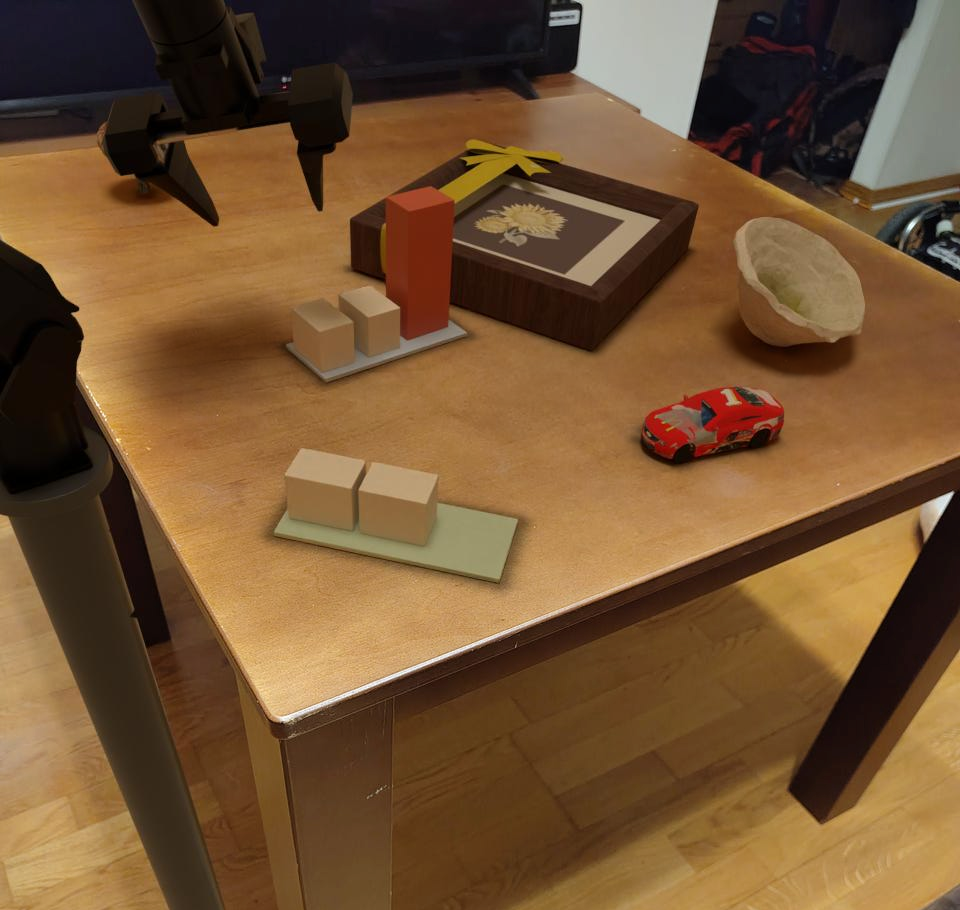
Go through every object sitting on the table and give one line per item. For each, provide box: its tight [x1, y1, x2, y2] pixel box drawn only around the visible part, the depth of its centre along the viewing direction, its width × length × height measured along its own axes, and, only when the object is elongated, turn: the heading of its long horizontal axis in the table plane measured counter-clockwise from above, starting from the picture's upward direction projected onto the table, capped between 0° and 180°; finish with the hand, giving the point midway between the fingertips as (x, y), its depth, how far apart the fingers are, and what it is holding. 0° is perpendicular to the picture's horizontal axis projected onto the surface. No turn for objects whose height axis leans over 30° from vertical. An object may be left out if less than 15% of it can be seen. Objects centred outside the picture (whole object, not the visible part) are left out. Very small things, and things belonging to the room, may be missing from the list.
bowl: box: [733, 216, 866, 348], centre depth 87 cm, size 15×14×10 cm
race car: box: [640, 386, 785, 464], centre depth 76 cm, size 13×5×4 cm, turn 111°
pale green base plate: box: [273, 447, 519, 584], centre depth 65 cm, size 17×7×4 cm, turn 77°
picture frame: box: [349, 138, 700, 351], centre depth 97 cm, size 28×7×30 cm
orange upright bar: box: [385, 186, 455, 340], centre depth 82 cm, size 5×4×12 cm
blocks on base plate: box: [285, 285, 468, 383], centre depth 83 cm, size 16×7×4 cm, turn 128°
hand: (268, 215), depth 75 cm, fingers open, 9 cm apart
